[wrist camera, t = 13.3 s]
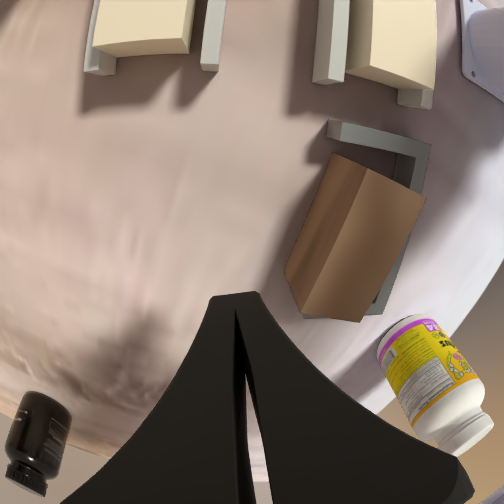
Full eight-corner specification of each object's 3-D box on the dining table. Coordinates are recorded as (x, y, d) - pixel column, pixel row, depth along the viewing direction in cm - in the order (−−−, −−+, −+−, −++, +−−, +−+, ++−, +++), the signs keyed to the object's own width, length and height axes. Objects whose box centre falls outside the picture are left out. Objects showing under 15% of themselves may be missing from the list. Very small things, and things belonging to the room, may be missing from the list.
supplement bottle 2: (438, 331, 25) (502, 423, 13) (388, 370, 26) (438, 470, 15) (421, 297, 22) (506, 408, 11) (362, 345, 23) (424, 469, 12)
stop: (412, 139, 16) (430, 144, 14) (371, 298, 21) (382, 314, 19) (328, 119, 15) (342, 121, 13) (297, 300, 20) (304, 318, 18)
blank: (384, 176, 17) (426, 198, 13) (334, 281, 20) (359, 322, 16) (331, 152, 16) (367, 168, 12) (283, 269, 19) (300, 312, 15)
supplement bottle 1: (20, 381, 22) (-12, 465, 12) (70, 404, 24) (48, 495, 14) (29, 408, 25) (6, 481, 14) (74, 427, 27) (58, 505, 16)
